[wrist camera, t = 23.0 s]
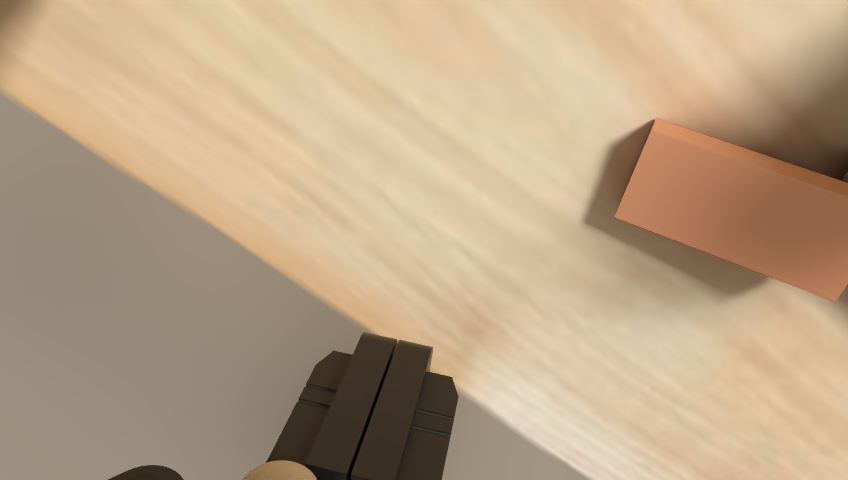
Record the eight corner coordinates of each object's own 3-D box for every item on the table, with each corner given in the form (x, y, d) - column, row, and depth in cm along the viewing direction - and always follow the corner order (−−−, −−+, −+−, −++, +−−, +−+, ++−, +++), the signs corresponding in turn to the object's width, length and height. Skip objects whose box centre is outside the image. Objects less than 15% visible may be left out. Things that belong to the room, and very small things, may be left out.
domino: (614, 217, 34) (835, 301, 31) (651, 129, 31) (897, 213, 29) (620, 202, 36) (831, 281, 33) (656, 118, 33) (888, 196, 30)
